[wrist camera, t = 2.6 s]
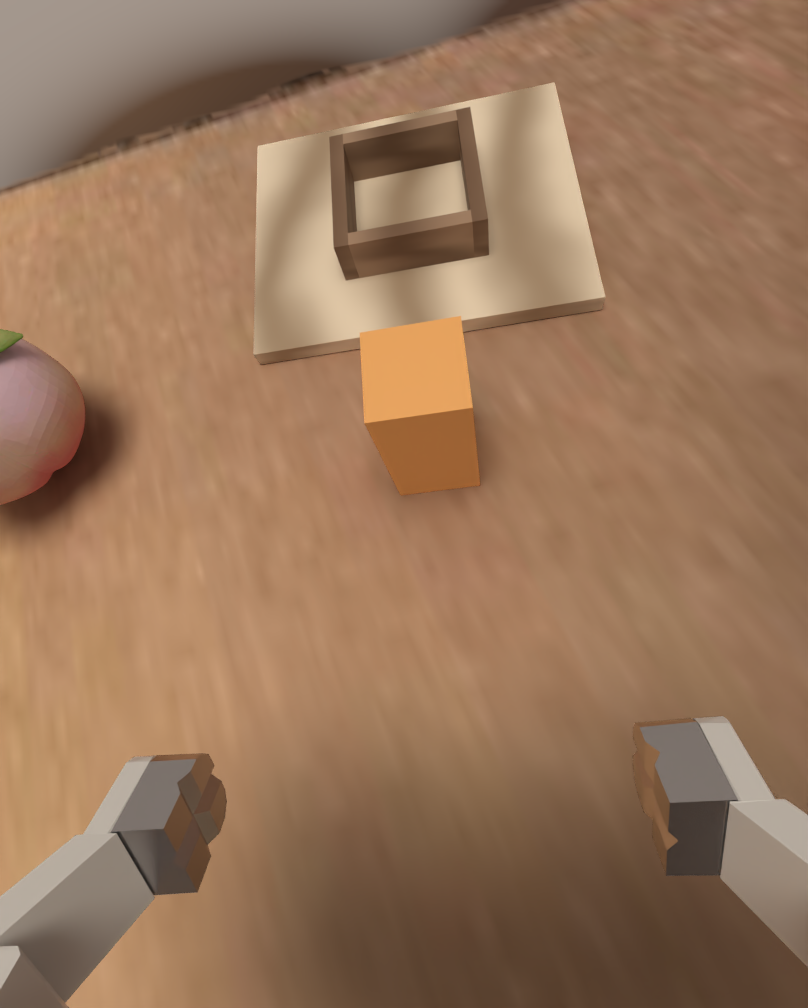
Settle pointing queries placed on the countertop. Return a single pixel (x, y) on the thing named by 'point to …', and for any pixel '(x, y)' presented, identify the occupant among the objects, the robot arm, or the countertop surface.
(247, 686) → the countertop surface
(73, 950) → the robot arm
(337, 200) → the socket board
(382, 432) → the orange cap block
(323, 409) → the countertop surface
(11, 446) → the decorative fruit
